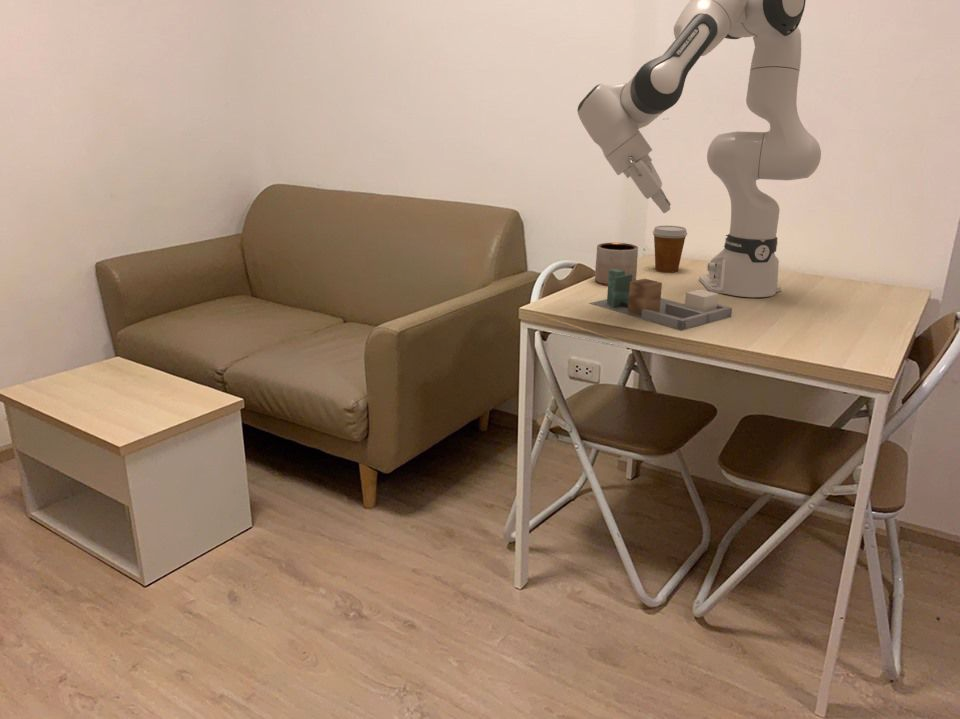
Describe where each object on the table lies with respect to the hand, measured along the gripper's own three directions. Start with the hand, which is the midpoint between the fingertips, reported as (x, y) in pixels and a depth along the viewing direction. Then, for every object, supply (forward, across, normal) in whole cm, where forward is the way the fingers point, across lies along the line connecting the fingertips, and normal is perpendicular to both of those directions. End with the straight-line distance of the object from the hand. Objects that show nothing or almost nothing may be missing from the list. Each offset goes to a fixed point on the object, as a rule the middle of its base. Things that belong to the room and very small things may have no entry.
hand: (667, 209), depth 165 cm
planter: (+10, +33, +24) cm, 42 cm away
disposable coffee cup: (+17, +51, +13) cm, 55 cm away
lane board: (+18, +6, +15) cm, 24 cm away
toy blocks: (+14, +5, +20) cm, 25 cm away
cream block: (+24, +4, +8) cm, 25 cm away
